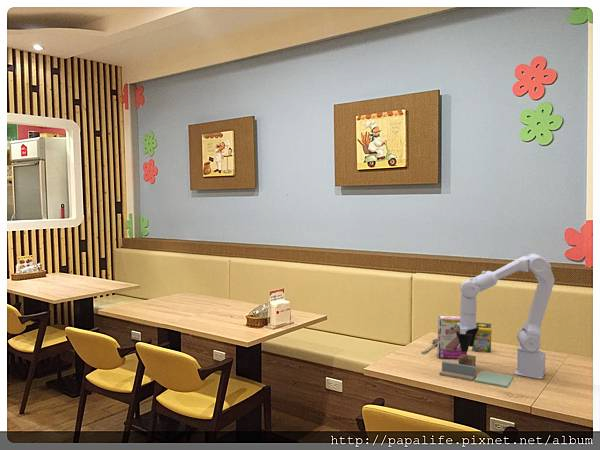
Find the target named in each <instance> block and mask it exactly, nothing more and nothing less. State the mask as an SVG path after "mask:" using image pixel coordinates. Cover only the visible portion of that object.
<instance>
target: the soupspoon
mask: <svg viewBox="0 0 600 450" xmlns="http://www.w3.org/2000/svg"><path fill="white" fill-rule="evenodd" d="M432 342H433V344H432V345H430V346H429V347H428V348H426V349H425V350H422V351H421V352H420V354H422V355H426V353H427V352H428V351H429V350H430V349H432V348H434V346H436V345H437V344H438V338H435V339H433V340H432Z"/></svg>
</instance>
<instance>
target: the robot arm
mask: <svg viewBox="0 0 600 450" xmlns="http://www.w3.org/2000/svg"><path fill="white" fill-rule="evenodd" d="M529 271H530V272H531V273H533V276H535V278H536V279H537V284H536V288H535V291H534V295H533V298H532V302H531V305H530V307H529V311H528V315H527V318H526V321H525V322H524V323H523V325H522V327H521V329H520V330H519V331H518V332H517V335H516V339H517V341H518V342H519V345H518V346H517V356H516V357H517V358H516V360H517V361H516V363H517V364H516V369H515V370H514V373H513V374H514V375H515V376H516V375H517V376H523V377H528V378H532V379H533V378H534V379H539V380H542V379H543V378H544V377H545V374H546V352H544V351H541V350H540V348H541V327H542V323H543V320H544V318H545V317H544V316H545V313H546V311H547V307H548V304H549V300H550V297H551V294H552V291H553V287H554V285H555V277H554V274H553V271H552V265H551V264H550V262H549V261H548V260H547V259H546V258H545V256H542V255H539V254H538V253H534V252H531V253H528V254H527V255H523V256H521V257H519V258H516V259H515V260H513V261H511V262H510V263H507V264H505V265H504V266H502V267H500V268H498V269H496V270H495V271H491V270H482V271H481V274H479V275H476V276H475V277H473V276H472V277H470V278H469V280H468V279H467V280H464V281H462V282H461V284H460V287H459V291H460V292H461V293H460V308H459V310H460V311H459V317H460V323H457V326H460V332H459V331H457V332H456V335H457V337H458V339H459V342H460V347H461V351H463V352H467V353H468V351H469V347H472V348H473V345H474V341H475V337H476V334H477V332H478V330H479V328H478V327H477V325H476V322H477V303H478V302H477V296H478V294H479V293H482V292H484V291H485V290H489V289H490V288H492V287H494V286H496V285H497V283H498V281H499V280H501V279H504V278H505V277H508V276H510V275H512V274H515V273H517V272H527V273H528V272H529Z"/></svg>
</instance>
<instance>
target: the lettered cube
mask: <svg viewBox="0 0 600 450" xmlns="http://www.w3.org/2000/svg"><path fill="white" fill-rule="evenodd" d="M476 359H477V358H476V355H471V354H467V355H465V354H462V355H461V356H460V357H459V359H458V364H463V365H469V366H475V367H476V368H477V366H476V362H477V361H476Z"/></svg>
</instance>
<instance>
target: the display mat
mask: <svg viewBox="0 0 600 450" xmlns="http://www.w3.org/2000/svg"><path fill="white" fill-rule="evenodd" d="M513 379H514V375H510V374H509V375H508V374H502V373H496V372H491V371H486V370H482V371H480V372H479V374H478V375H476V378H475V379H474V380H473V381H474V383H481V384H487V385H492V386H495V387H501V388H508V387H509V386H510V384H511V382H512V381H513Z"/></svg>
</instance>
